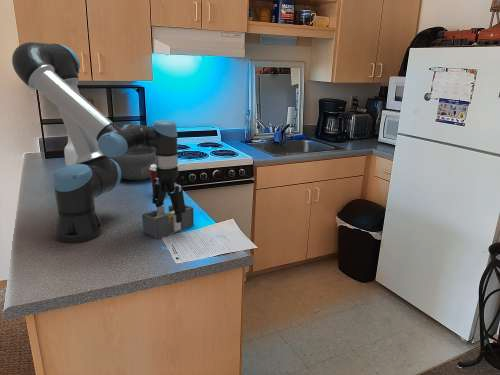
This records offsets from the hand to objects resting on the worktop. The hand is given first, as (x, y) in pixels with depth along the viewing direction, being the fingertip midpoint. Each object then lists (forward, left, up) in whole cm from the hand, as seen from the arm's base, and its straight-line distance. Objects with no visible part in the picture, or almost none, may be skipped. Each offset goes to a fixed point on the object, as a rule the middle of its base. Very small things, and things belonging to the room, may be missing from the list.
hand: (169, 226), depth 139 cm
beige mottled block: (0, 0, 0) cm, 0 cm away
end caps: (0, 0, -1) cm, 1 cm away
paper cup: (+20, +32, -1) cm, 38 cm away
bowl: (+28, +62, -1) cm, 68 cm away
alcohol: (+1, +69, -1) cm, 69 cm away
